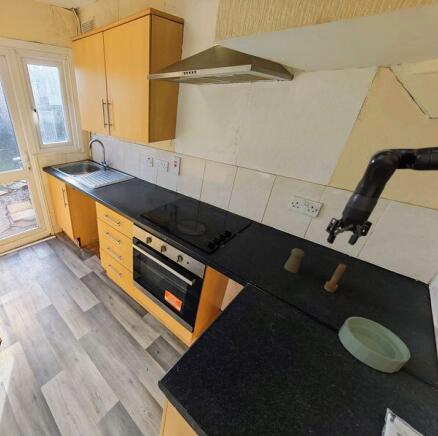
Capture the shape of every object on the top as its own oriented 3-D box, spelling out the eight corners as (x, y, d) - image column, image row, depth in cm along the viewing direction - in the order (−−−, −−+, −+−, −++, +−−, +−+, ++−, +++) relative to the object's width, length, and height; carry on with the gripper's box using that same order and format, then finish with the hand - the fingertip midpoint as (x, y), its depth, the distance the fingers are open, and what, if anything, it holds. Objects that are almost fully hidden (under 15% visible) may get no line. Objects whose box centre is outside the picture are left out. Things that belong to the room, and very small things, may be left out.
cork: (286, 263, 113) (294, 244, 108) (299, 269, 110) (308, 250, 105) (282, 268, 109) (290, 249, 104) (296, 274, 106) (304, 255, 101)
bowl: (384, 339, 77) (394, 327, 75) (409, 383, 65) (422, 371, 62) (332, 322, 83) (339, 310, 80) (346, 359, 70) (355, 347, 67)
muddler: (333, 287, 99) (347, 264, 93) (336, 293, 96) (350, 269, 90) (322, 284, 101) (335, 261, 95) (325, 290, 97) (338, 266, 91)
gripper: (348, 209, 79) (329, 247, 86) (388, 211, 79) (365, 249, 86) (333, 201, 85) (316, 237, 93) (370, 203, 86) (350, 239, 93)
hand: (340, 243), depth 90 cm, fingers open, 8 cm apart
